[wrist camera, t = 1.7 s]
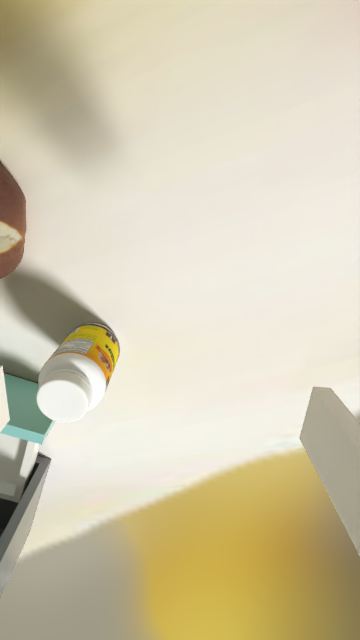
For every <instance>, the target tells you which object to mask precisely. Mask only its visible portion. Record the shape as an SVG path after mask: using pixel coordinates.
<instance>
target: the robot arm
mask: <svg viewBox="0 0 360 640" xmlns="http://www.w3.org/2000/svg"><path fill="white" fill-rule="evenodd" d="M9 420H10V417H9V410H8V402H7V395H6V387H5V380H4V372H3V365H0V432H1V431H2V430H3V428H4V427H5V426H6V424H7V423H8V422H9ZM300 440H301V442H302V444H303V446H304V448H305V450H306V452H307V454H308V456H309V458H310V460H311V462H312V464H313V465H314V468H315V469H316V472H317V474H318V476H319V477H320V479H321V481H322V483H323V485H324V487H325V489H326V491H327V493H328V495H329V497H330V499H331V501H332V503H333V505H334V507H335V509H336V511H337V513H338V515H339V517H340V519H341V520H342V522H343V524H344V526H345V528H346V530H347V532H348V534H349V536H350V538H351V540H352V542H353V544H354V546H355V548H356V550H357V552H358V554H359V555H360V423H359V422H358V421H357V420H356V418H355V417H354V416H353V415H352V413H351V412H350V411H349V410H348V408H347V407H346V406H345V405H344V404H343V402H342V401H341V400H340V399H339V397H338V396H337V395H336V394H335V393H334V391H333V390H332V389H331V388H324V387H313V389H312V393H311V397H310V401H309V404H308V408H307V412H306V416H305V419H304V423H303V427H302V430H301V434H300Z"/></svg>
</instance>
